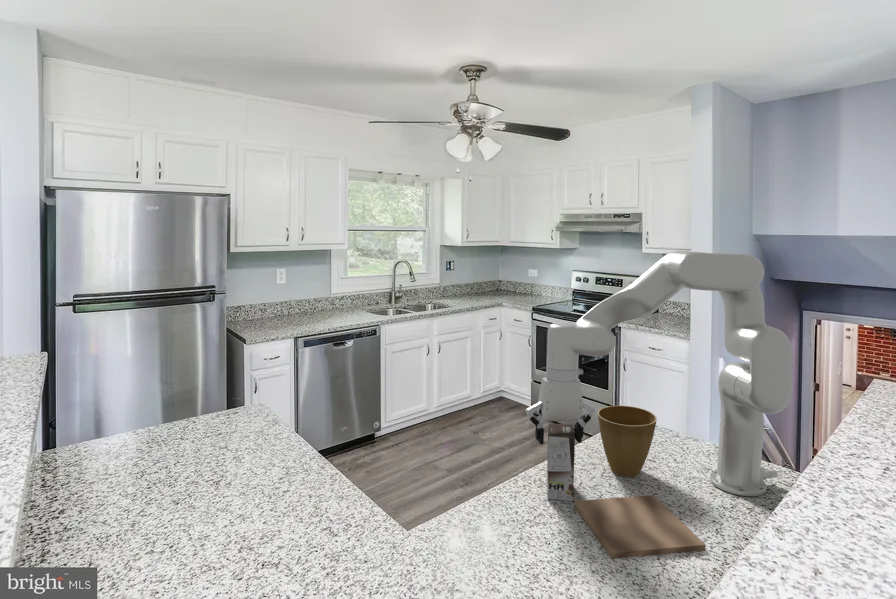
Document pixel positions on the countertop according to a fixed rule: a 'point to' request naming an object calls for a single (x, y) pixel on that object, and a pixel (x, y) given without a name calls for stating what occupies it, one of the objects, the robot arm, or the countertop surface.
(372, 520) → the countertop surface
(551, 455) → the coffee box
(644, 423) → the plant pot
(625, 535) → the walnut board
